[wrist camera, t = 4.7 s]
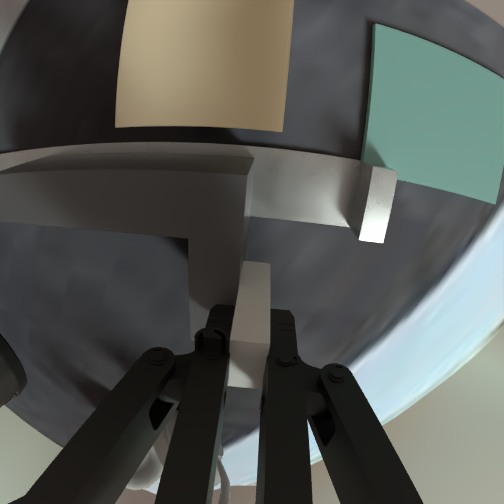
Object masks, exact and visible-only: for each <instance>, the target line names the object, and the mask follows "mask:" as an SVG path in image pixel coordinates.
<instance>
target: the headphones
mask: <svg viewBox="0 0 504 504" xmlns="http://www.w3.org/2000/svg"><path fill="white" fill-rule="evenodd" d="M177 414H178V410H175V411H174V413H173V414H172V416H171V418H170V419H169V421H168V422H167V424H166V425H165V427H164V429H163V430H162V432H161V433H160V435H159V436H158V438H157V440H156V441H155V443H154V444H153V446H152V447H151V449H150V450H149V452H148V454H147V455H146V457H145V458H144V460H143V461H142V463H141V464H140V466H139V467H138V469H137V471H136V472H135V474H134V475H133V477H132V478H131V480H130V481H129V483H128V484H127V486H126V487H125V488H128V489H132V490H139V489H143V488H148V487H149V486H151V485H152V484H153V483H154V482H156V481H157V480H158V479H159V478H160V476H161V474H162V471H163V467H164V463H165V460H166V456H167V452H168V448H169V444H170V440H171V437H172V433H173V429H174V425H175V422H176V418H177ZM222 456H223V448H222V445H221V443H220V446H219V453H218V461H217V468H216V475H215V482H214V486H216V485H217V484H219V483H220V482H221V494H220V499H219V504H229V501H230V482H229V479H228V477H227V474H226V472H225V469H224V467H223V465H222V463H221V459H222Z"/></svg>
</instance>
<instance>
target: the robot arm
mask: <svg viewBox="0 0 504 504" xmlns="http://www.w3.org/2000/svg"><path fill="white" fill-rule="evenodd" d="M295 331H296V330H295V320H294V316H293V315H292V313H291V312H290V311H289V310H279V309H270V263H261V262H251V261H244V262H243V267H242V273H241V278H240V284H239V289H238V295H237V301H236V306H231V305H222V304H216V305H215V306H213V307H212V308H211V309H210V312H209V316H208V319H207V323H206V326H205V328H202V329H200V330H199V331H197V332H196V334H195V336H194V338H195V351H194V352H192V353H189V354H184V355H174V354H173V353H172V351H170V350H168V349H167V348H162V347H154V348H151V349H148V350H147V351H146V352H145V353H143V355H142V356H141V357H140V358H139V359H138V360H137V362H136V363H135V364H134V365H133V366H132V367H131V369H130V370H129V371H128V372H127V373H126V374H125V376H124V377H123V378H122V379H121V380H120V381H119V383H118V384H117V385H116V386H115V387H114V388H113V390H112V391H111V392H110V393H109V394H108V396H107V397H106V398H105V399H104V400H103V401H102V403H101V404H100V405H99V406H98V407H97V409H96V410H95V411H94V412H93V413H92V414H91V416H90V417H89V418H88V419H87V420H86V422H85V423H84V424H83V425H82V426H81V428H80V429H79V430H78V431H77V432H76V434H75V435H74V436H73V437H72V438H71V440H70V441H69V442H68V443H67V444H66V446H65V447H64V448H63V449H62V450H61V452H60V453H59V454H58V455H57V457H56V458H55V459H54V460H53V461H52V463H51V464H50V465H49V466H48V468H47V469H46V470H45V471H44V473H43V474H42V475H41V476H40V477H39V479H38V480H37V481H36V482H35V484H34V485H33V486H32V487H31V488H30V490H29V491H28V492H27V494H26V495H25V496H23V497H21V498H19V499H17V500H15V501H13V502H11V503H8V504H115V502H116V501H117V499H118V498H119V496H120V495H121V493H122V492H123V490H124V489H125V487H126V486H127V484H128V483H129V481H130V480H131V478H132V477H133V475H134V474H135V472H136V471H137V469H138V467H139V466H140V464H141V463H142V461H143V460H144V458H145V457H146V455H147V454H148V452H149V450H150V449H151V447H152V446H153V444H154V443H155V441H156V440H157V438H158V436H159V435H160V433H161V432H162V430H163V429H164V427H165V425H166V424H167V422H168V421H169V419H170V418H171V416H172V414H173V413H174V411H175V410H176V408H177V406H178V405H179V402H181V403H180V407H179V410H178V414H177V418H176V422H175V425H174V429H173V433H172V437H171V440H170V444H169V448H168V452H167V456H166V460H165V463H164V467H163V471H162V475H161V479H160V483H159V487H158V491H157V495H156V500H155V504H211V503H212V496H213V489H214V482H215V475H216V468H217V461H218V453H219V446H220V439H221V432H222V425H223V418H224V411H225V404H226V398H227V386H235V387H245V388H256V389H262V387H263V390H262V396H261V402H260V407H259V409H261V411H260V431H259V451H258V469H257V487H256V503H255V504H313V502H312V482H311V465H310V450H309V436H308V423H307V419H308V422H309V424H310V427H311V429H312V432H313V435H314V437H315V440H316V442H317V445H318V447H319V450H320V453H321V455H322V458H323V460H324V463H325V465H326V468H327V470H328V473H329V476H330V478H331V481H332V483H333V486H334V488H335V491H336V493H337V496H338V498H339V501H340V503H341V504H423V502H422V500H421V498H420V496H419V494H418V492H417V490H416V488H415V486H414V484H413V483H412V481H411V479H410V477H409V475H408V473H407V471H406V469H405V468H404V466H403V464H402V462H401V460H400V458H399V457H398V455H397V453H396V451H395V449H394V447H393V445H392V444H391V442H390V440H389V438H388V436H387V435H386V433H385V431H384V429H383V427H382V425H381V424H380V422H379V420H378V418H377V416H376V415H375V413H374V411H373V409H372V408H371V406H370V404H369V402H368V400H367V399H366V397H365V395H364V393H363V392H362V390H361V388H360V386H359V385H358V383H357V381H356V379H355V378H354V376H353V374H352V372H351V371H350V370H349V369H348V368H347V367H345V366H343V365H340V364H328V365H325V366H324V367H323V368H322V369H319V368H316V367H312V366H310V365H307V364H306V363H304V362H303V361H302V360H301V358H300V356H299V355H298V350H297V340H296V332H295ZM26 384H27V378H26V375H25V372H24V370H23V368H22V366H21V364H20V362H19V360H18V359H17V357H16V356H15V354H14V353H13V351H12V350H11V348H10V347H9V346H8V344H7V343H6V342H5V340H4V339H3V338H2V337H1V336H0V407H1V406H2V405H4V404H6V403H7V402H8V401H10V400H11V399H12V398H13V397H17V396H18V395H19V394H20V393H21V392H22V390H23V389H24V387H25V386H26Z"/></svg>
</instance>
